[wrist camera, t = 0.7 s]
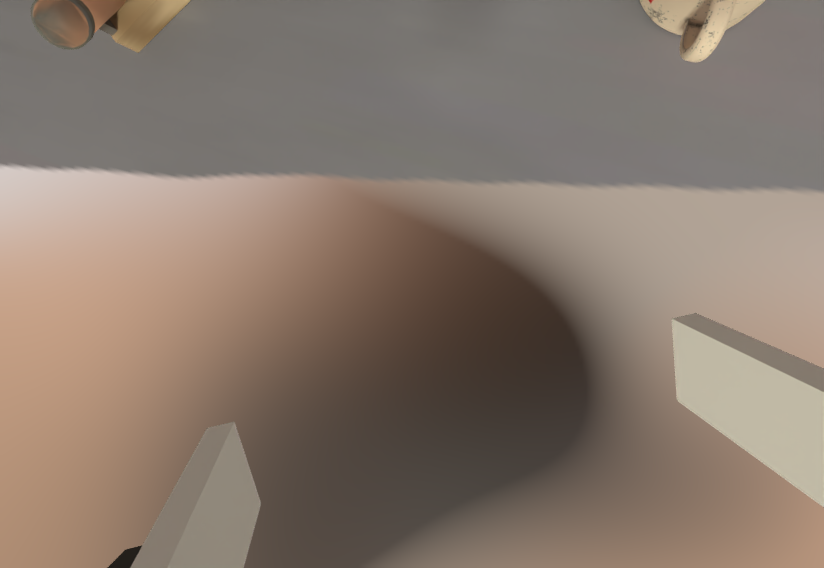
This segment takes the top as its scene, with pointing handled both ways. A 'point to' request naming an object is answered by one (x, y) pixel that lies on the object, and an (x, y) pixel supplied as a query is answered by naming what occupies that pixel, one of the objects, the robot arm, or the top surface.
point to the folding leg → (71, 20)
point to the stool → (141, 21)
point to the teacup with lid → (698, 21)
